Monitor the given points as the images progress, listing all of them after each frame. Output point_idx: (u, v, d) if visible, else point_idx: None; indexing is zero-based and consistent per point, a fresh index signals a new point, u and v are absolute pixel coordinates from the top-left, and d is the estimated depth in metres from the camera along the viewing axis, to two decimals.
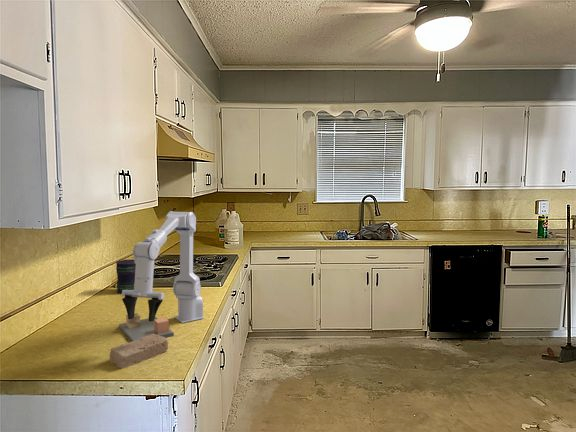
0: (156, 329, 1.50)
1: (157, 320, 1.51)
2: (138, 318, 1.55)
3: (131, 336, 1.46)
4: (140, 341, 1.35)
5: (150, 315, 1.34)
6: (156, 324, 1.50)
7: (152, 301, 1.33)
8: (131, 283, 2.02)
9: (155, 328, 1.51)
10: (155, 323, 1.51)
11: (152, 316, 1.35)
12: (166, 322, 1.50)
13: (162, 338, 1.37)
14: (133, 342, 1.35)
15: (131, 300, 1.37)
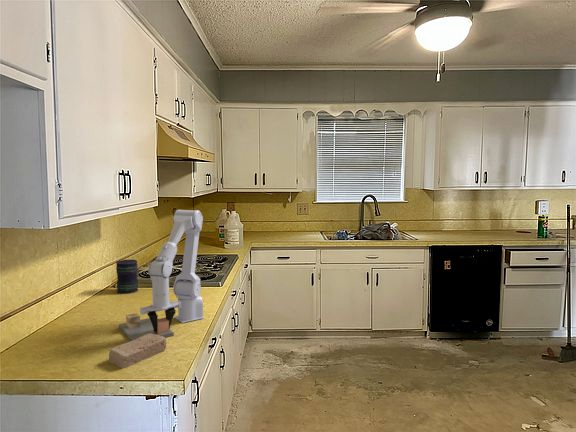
0: None
1: (157, 320, 1.51)
2: (138, 318, 1.55)
3: (131, 336, 1.46)
4: (138, 341, 1.36)
5: (169, 324, 1.52)
6: None
7: (174, 311, 1.51)
8: (131, 283, 2.02)
9: None
10: None
11: None
12: (166, 322, 1.50)
13: (160, 337, 1.38)
14: (131, 342, 1.35)
15: None
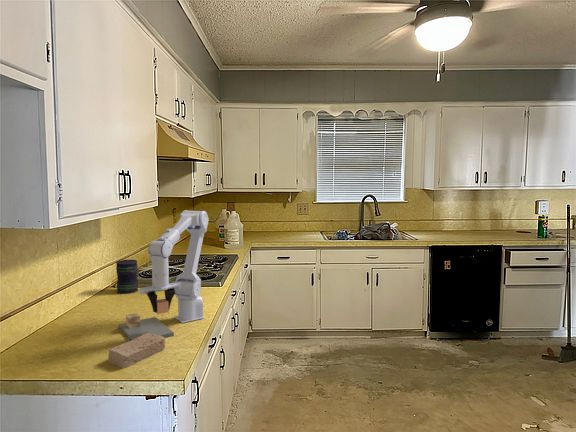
0: None
1: (157, 301, 1.50)
2: (138, 318, 1.55)
3: (131, 336, 1.46)
4: (137, 341, 1.36)
5: (169, 304, 1.51)
6: None
7: (173, 292, 1.50)
8: (131, 283, 2.02)
9: None
10: None
11: None
12: (166, 303, 1.50)
13: (159, 337, 1.38)
14: (130, 342, 1.35)
15: None
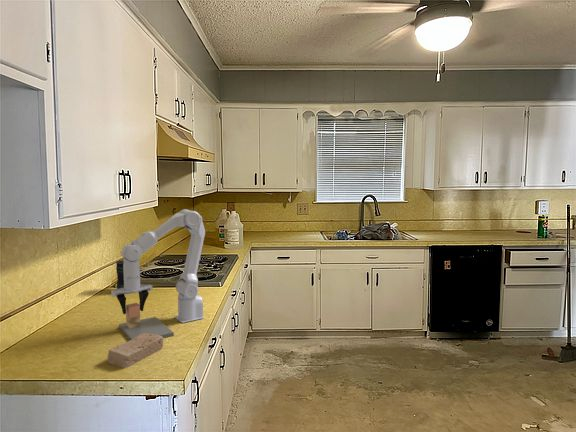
0: (127, 313, 1.55)
1: (129, 305, 1.55)
2: (138, 318, 1.55)
3: (131, 336, 1.46)
4: (135, 341, 1.36)
5: (143, 305, 1.56)
6: (127, 309, 1.54)
7: (147, 294, 1.56)
8: None
9: (127, 313, 1.55)
10: (127, 308, 1.55)
11: None
12: (137, 307, 1.54)
13: (157, 336, 1.39)
14: (128, 342, 1.35)
15: None
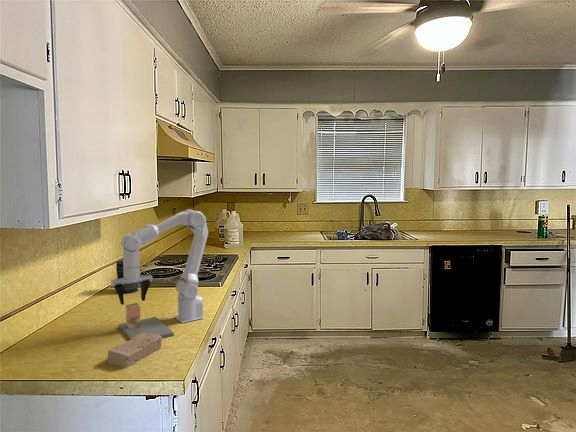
0: (127, 313, 1.55)
1: (129, 305, 1.55)
2: (138, 318, 1.55)
3: (131, 336, 1.46)
4: (134, 341, 1.36)
5: (144, 295, 1.57)
6: (127, 309, 1.54)
7: (148, 283, 1.56)
8: (131, 283, 2.02)
9: (127, 313, 1.55)
10: (127, 308, 1.55)
11: None
12: (137, 307, 1.54)
13: (155, 335, 1.39)
14: (127, 342, 1.34)
15: None
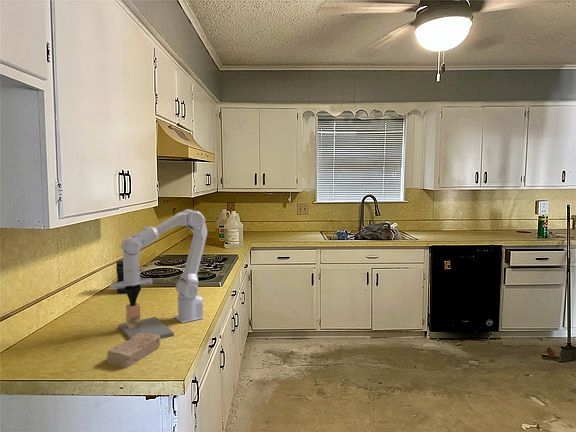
0: (127, 314, 1.55)
1: (129, 305, 1.55)
2: (138, 318, 1.55)
3: (131, 336, 1.46)
4: (133, 340, 1.36)
5: (135, 300, 1.55)
6: (127, 309, 1.54)
7: (139, 288, 1.54)
8: None
9: (127, 313, 1.55)
10: (127, 308, 1.55)
11: None
12: (137, 307, 1.54)
13: (154, 335, 1.39)
14: (126, 342, 1.34)
15: None
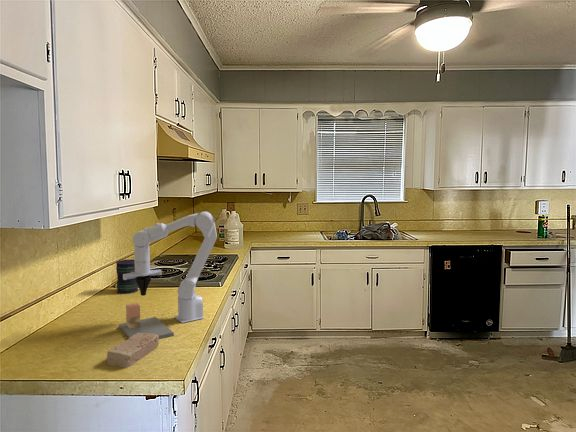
0: (127, 313, 1.55)
1: (129, 305, 1.55)
2: (138, 318, 1.55)
3: (131, 336, 1.46)
4: (131, 341, 1.36)
5: (145, 290, 1.64)
6: (127, 309, 1.54)
7: (149, 279, 1.63)
8: (131, 283, 2.02)
9: (127, 313, 1.55)
10: (127, 308, 1.55)
11: None
12: (137, 307, 1.54)
13: (152, 335, 1.40)
14: (125, 342, 1.34)
15: None
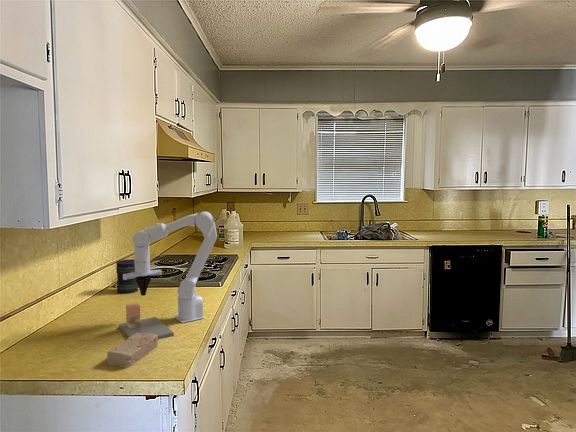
0: (127, 313, 1.55)
1: (129, 305, 1.55)
2: (138, 318, 1.55)
3: None
4: (131, 341, 1.36)
5: (145, 290, 1.64)
6: (127, 309, 1.54)
7: (149, 278, 1.63)
8: (131, 283, 2.02)
9: (127, 313, 1.55)
10: (127, 308, 1.55)
11: None
12: (137, 307, 1.54)
13: (151, 334, 1.40)
14: (124, 343, 1.34)
15: None
